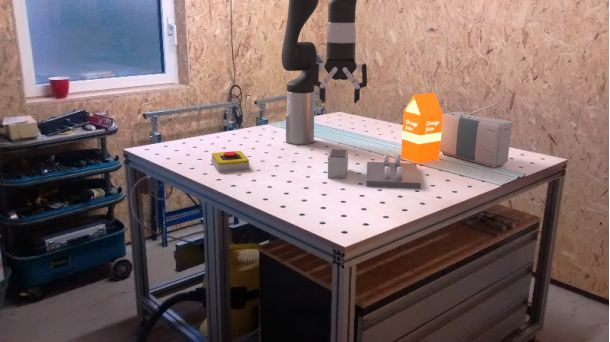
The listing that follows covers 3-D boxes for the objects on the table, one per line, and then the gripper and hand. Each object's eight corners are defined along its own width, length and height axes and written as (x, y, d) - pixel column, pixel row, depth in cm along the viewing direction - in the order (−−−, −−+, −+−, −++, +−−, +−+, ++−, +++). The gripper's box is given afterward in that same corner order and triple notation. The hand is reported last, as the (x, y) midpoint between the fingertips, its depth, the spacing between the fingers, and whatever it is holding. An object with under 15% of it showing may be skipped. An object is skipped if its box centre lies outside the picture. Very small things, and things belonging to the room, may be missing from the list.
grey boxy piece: (327, 178, 151) (328, 156, 150) (330, 169, 160) (330, 148, 158) (346, 179, 151) (346, 157, 149) (347, 169, 159) (348, 149, 158)
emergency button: (218, 160, 154) (209, 147, 167) (219, 175, 155) (209, 161, 168) (251, 157, 156) (239, 145, 170) (251, 172, 158) (240, 158, 171)
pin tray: (366, 186, 145) (366, 169, 144) (367, 166, 162) (367, 151, 161) (420, 188, 143) (421, 171, 142) (415, 168, 160) (416, 153, 159)
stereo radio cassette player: (436, 154, 175) (441, 91, 170) (453, 150, 180) (458, 88, 174) (494, 170, 160) (501, 101, 154) (510, 165, 164) (518, 98, 158)
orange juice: (439, 159, 170) (444, 94, 164) (417, 163, 165) (422, 96, 159) (421, 153, 176) (426, 90, 170) (400, 157, 172) (404, 92, 166)
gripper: (312, 41, 142) (311, 104, 147) (368, 41, 140) (366, 105, 145) (315, 39, 149) (314, 99, 154) (368, 39, 147) (366, 100, 152)
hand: (339, 102), depth 149 cm, fingers open, 8 cm apart
